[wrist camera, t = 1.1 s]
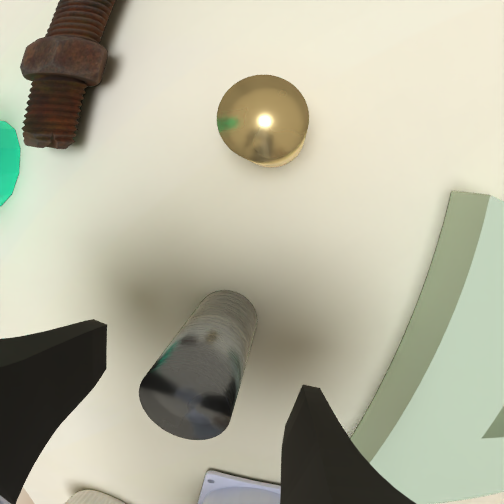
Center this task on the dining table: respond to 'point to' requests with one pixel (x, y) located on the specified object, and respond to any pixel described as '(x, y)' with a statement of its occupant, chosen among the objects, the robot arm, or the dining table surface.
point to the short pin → (263, 120)
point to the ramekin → (92, 498)
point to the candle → (8, 160)
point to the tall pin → (201, 369)
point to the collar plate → (448, 369)
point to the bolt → (64, 71)
